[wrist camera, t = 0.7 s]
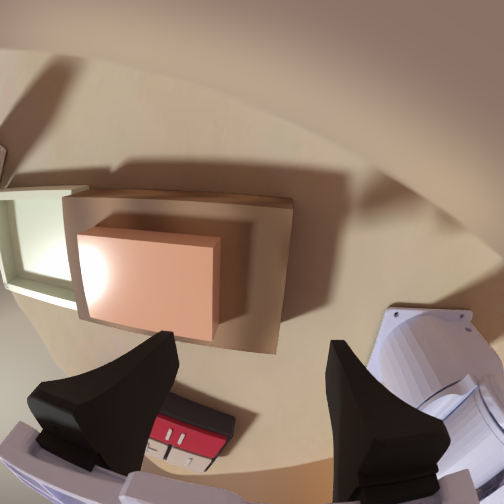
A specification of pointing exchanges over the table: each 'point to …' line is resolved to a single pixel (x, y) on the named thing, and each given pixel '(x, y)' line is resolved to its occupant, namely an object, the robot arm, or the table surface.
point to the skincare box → (2, 158)
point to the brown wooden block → (206, 224)
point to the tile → (152, 279)
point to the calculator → (189, 434)
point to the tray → (36, 243)
